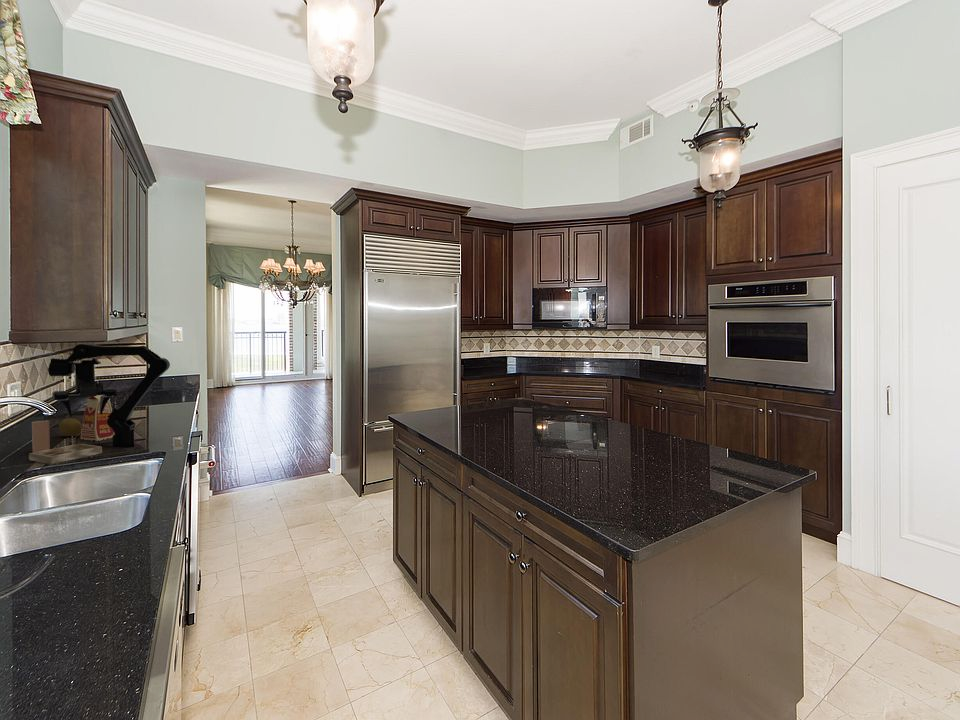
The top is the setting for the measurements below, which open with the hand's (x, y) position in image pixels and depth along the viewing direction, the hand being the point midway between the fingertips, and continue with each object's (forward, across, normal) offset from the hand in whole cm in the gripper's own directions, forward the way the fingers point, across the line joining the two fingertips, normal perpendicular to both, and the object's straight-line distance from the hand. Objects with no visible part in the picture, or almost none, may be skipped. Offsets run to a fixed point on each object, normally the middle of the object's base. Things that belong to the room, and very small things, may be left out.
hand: (85, 415), depth 183 cm
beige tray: (+13, -8, -12) cm, 19 cm away
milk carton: (+13, +7, +19) cm, 24 cm away
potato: (+13, 0, +29) cm, 32 cm away
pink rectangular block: (+13, -13, +2) cm, 18 cm away
